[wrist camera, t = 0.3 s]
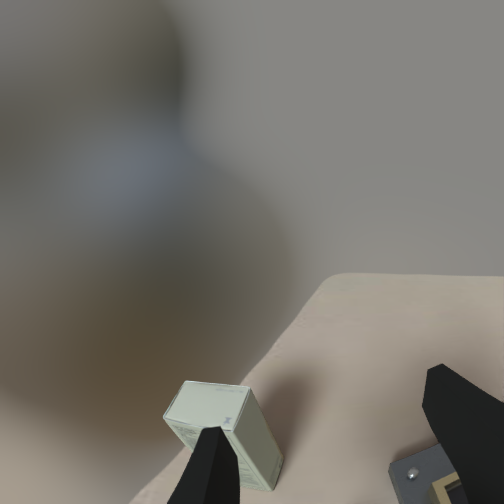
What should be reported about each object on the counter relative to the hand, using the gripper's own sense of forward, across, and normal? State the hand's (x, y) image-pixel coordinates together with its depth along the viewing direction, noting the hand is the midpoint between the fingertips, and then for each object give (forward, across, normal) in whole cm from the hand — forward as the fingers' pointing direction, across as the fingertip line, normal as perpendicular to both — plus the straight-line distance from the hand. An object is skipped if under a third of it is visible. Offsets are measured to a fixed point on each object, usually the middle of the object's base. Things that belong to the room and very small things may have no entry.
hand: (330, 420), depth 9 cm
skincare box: (+11, +7, +20) cm, 24 cm away
